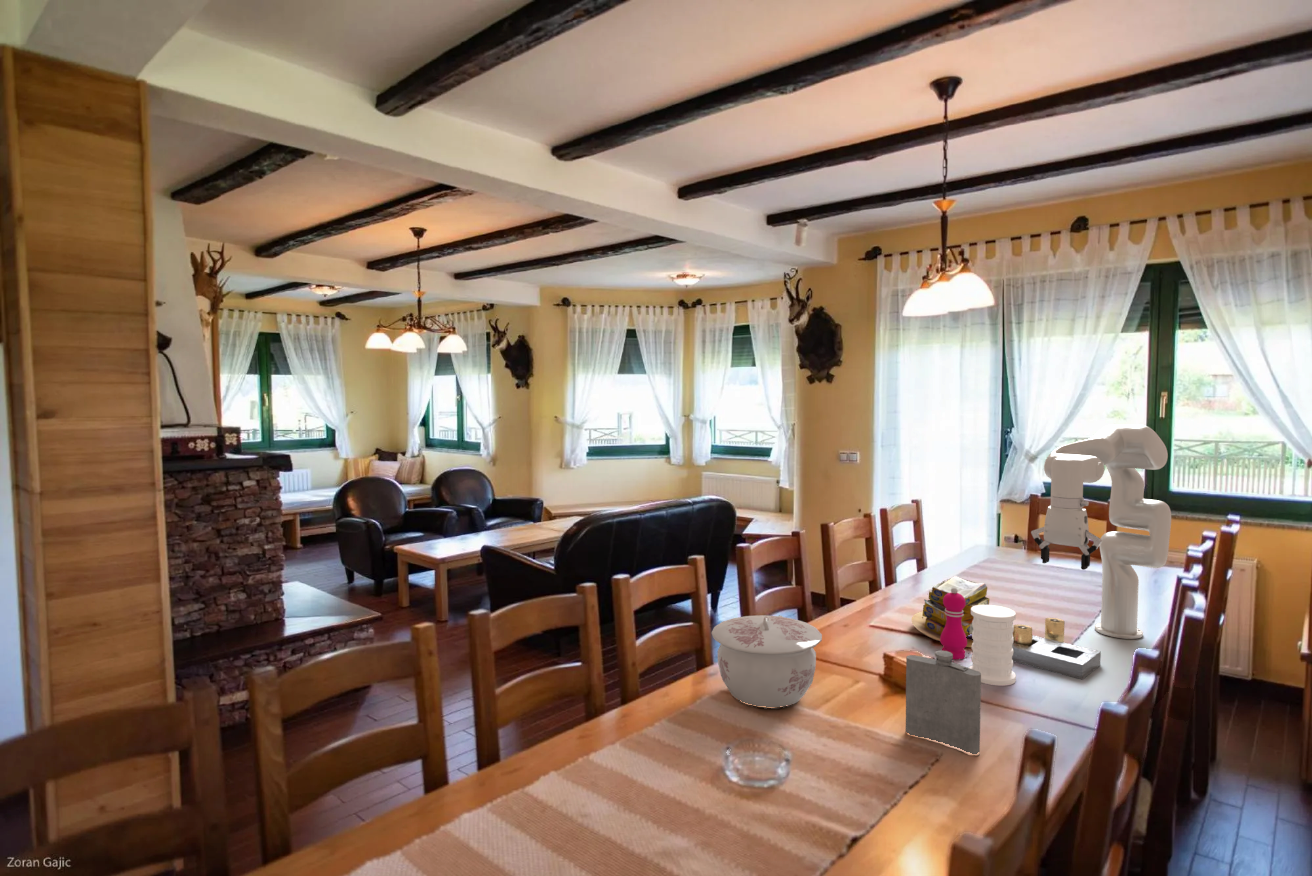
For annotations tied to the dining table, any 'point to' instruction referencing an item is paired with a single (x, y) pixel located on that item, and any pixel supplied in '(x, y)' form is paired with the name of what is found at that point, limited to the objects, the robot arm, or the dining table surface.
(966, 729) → the hip flask
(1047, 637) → the bushing
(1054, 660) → the jig
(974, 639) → the decorative container
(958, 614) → the pepper mill
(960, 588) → the stacked packages on plate
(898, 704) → the dining table surface
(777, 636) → the chamber pot
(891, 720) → the dining table surface
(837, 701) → the dining table surface
